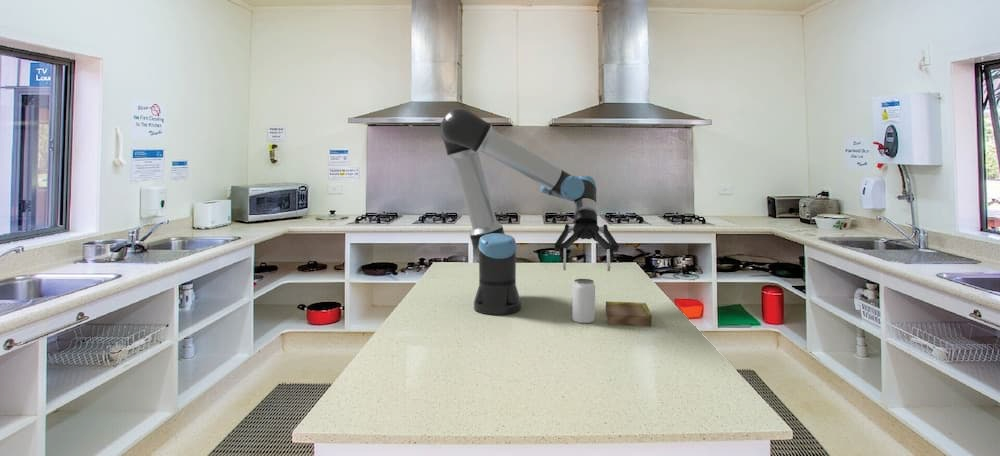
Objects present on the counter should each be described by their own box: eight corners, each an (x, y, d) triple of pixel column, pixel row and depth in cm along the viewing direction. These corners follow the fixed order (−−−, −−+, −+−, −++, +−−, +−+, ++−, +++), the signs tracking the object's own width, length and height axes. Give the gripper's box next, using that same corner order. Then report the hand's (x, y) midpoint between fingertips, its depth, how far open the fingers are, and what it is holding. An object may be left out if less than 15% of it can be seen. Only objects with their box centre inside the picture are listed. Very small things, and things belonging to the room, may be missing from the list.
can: (572, 323, 144) (572, 282, 143) (572, 316, 151) (573, 277, 149) (594, 324, 143) (595, 283, 142) (594, 317, 150) (595, 278, 148)
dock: (608, 324, 143) (608, 312, 143) (605, 312, 155) (605, 301, 154) (651, 326, 141) (651, 314, 141) (645, 314, 153) (645, 302, 153)
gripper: (622, 222, 169) (626, 275, 156) (548, 221, 172) (546, 273, 159) (624, 208, 163) (629, 262, 150) (548, 207, 166) (546, 260, 153)
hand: (586, 268), depth 155 cm, fingers open, 13 cm apart
